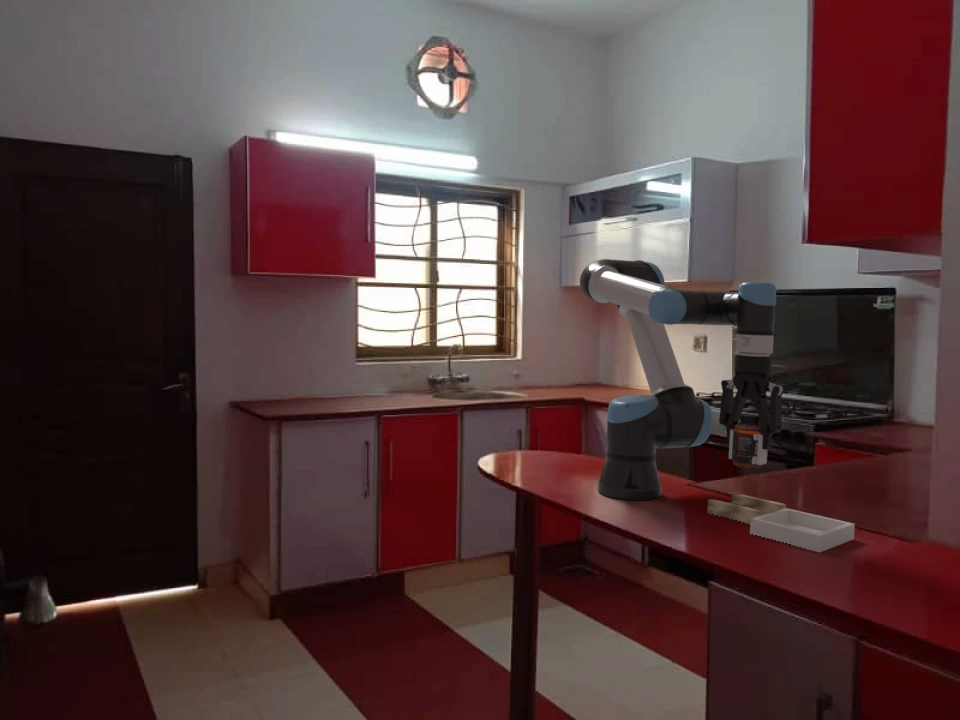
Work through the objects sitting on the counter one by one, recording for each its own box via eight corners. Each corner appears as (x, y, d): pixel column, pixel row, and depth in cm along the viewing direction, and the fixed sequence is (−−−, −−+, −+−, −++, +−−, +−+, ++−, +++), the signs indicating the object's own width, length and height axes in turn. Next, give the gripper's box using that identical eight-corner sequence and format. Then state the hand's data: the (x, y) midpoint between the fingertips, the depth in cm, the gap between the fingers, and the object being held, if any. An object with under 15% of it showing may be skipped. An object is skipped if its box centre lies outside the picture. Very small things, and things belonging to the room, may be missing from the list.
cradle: (707, 513, 162) (707, 499, 162) (735, 506, 169) (735, 493, 169) (758, 526, 153) (758, 512, 153) (785, 517, 160) (785, 504, 160)
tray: (749, 534, 148) (750, 518, 147) (785, 522, 156) (786, 508, 156) (819, 552, 137) (820, 536, 137) (853, 539, 146) (854, 523, 145)
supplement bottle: (763, 470, 157) (767, 417, 157) (734, 468, 159) (737, 415, 158) (759, 464, 163) (762, 413, 162) (730, 462, 164) (733, 411, 164)
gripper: (705, 351, 164) (699, 455, 166) (786, 358, 149) (779, 471, 151) (724, 351, 169) (718, 451, 171) (805, 357, 154) (798, 467, 156)
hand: (747, 460), depth 161 cm, fingers closed on supplement bottle, 6 cm apart
